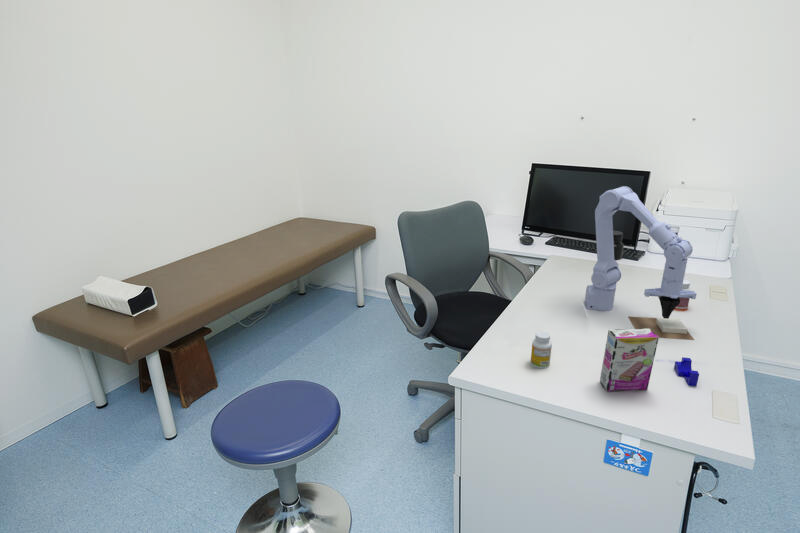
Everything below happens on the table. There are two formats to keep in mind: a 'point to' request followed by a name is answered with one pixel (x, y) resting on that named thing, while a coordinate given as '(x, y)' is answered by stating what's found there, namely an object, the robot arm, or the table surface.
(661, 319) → the tile
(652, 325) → the board
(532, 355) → the supplement bottle
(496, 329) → the table surface
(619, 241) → the ink bottle
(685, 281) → the pill bottle
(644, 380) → the candy bar box
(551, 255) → the table surface
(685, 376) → the cable holder
